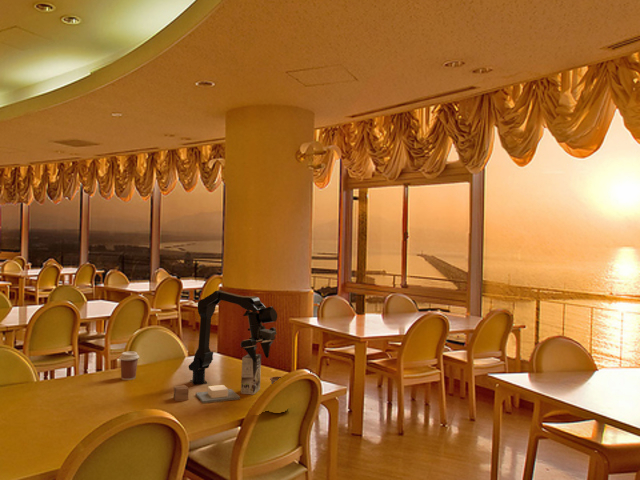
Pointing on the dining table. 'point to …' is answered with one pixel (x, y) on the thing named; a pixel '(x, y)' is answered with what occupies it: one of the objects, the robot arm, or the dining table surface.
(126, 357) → the coffee cup
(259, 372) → the coffee box
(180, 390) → the walnut block
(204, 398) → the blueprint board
